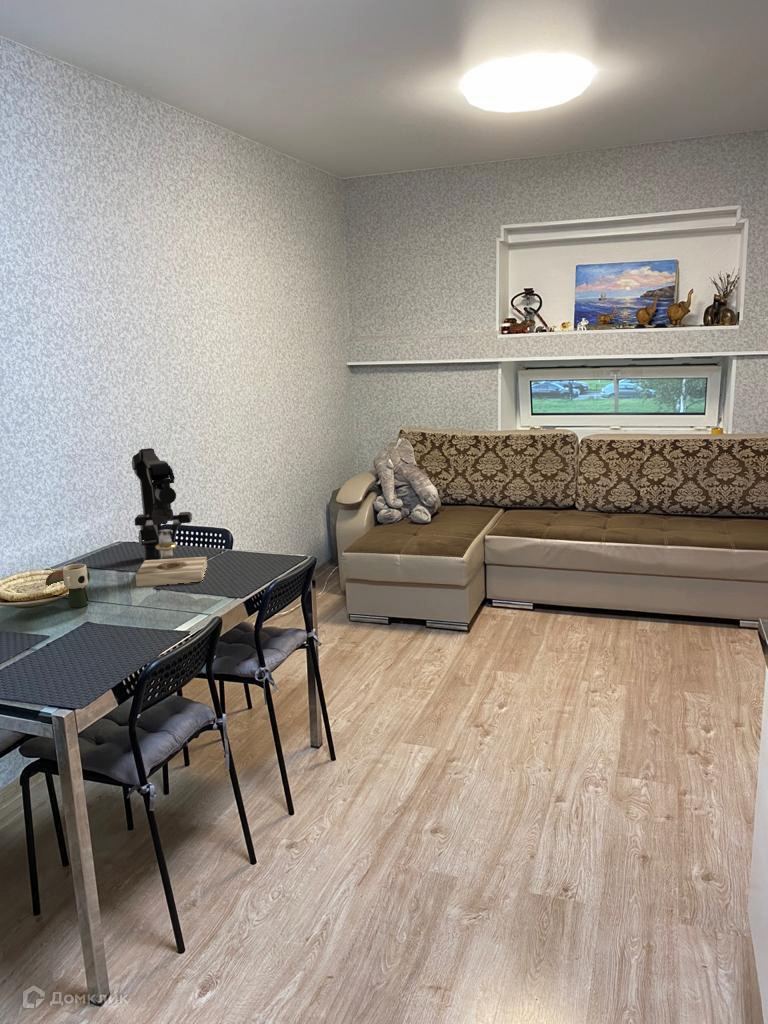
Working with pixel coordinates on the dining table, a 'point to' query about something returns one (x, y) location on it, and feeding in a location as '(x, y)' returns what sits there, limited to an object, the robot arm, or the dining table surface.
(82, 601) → the character mug
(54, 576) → the tin
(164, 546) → the silver and gold knob
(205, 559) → the jig
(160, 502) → the robot arm
